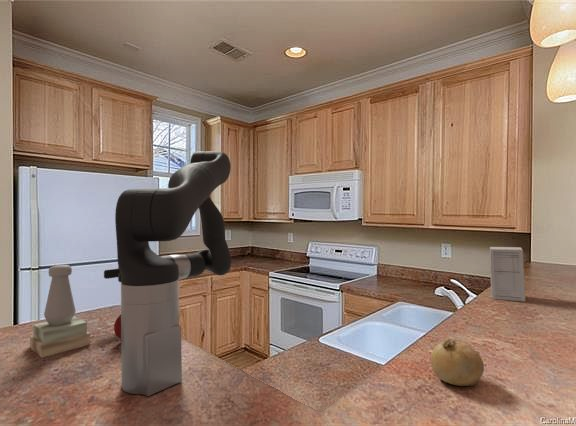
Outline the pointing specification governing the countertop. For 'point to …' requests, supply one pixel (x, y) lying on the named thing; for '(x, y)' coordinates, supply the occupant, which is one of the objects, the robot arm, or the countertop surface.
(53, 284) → the salt shaker
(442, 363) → the onion
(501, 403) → the countertop surface
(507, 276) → the supplement box
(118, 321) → the onion
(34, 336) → the brick base
